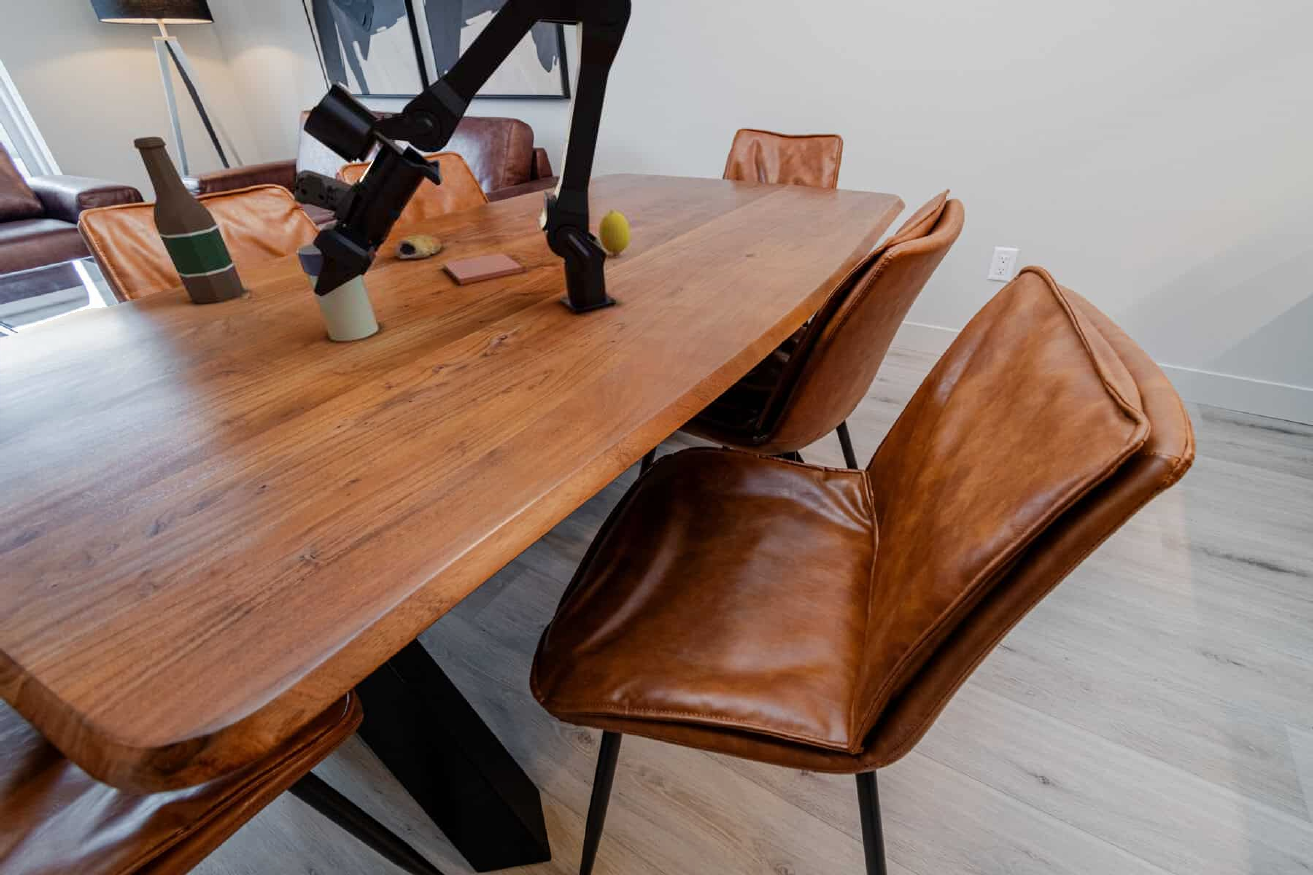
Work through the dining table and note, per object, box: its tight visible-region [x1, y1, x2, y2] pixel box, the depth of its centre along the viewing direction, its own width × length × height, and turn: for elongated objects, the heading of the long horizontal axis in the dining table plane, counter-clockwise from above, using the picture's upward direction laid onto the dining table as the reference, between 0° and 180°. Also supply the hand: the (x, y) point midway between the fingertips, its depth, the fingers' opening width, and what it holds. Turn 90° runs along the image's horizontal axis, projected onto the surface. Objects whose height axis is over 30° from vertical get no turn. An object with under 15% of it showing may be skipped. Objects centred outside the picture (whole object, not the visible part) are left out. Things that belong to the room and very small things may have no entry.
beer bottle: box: [133, 136, 244, 305], centre depth 94 cm, size 8×8×24 cm
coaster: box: [443, 252, 524, 285], centre depth 106 cm, size 11×11×1 cm
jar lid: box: [296, 243, 323, 275], centre depth 78 cm, size 7×7×3 cm
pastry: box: [394, 234, 442, 260], centre depth 117 cm, size 9×7×4 cm
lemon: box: [598, 209, 631, 257], centre depth 108 cm, size 6×6×8 cm
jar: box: [306, 274, 379, 342], centre depth 81 cm, size 6×6×11 cm
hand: (324, 285), depth 80 cm, fingers open, 7 cm apart
